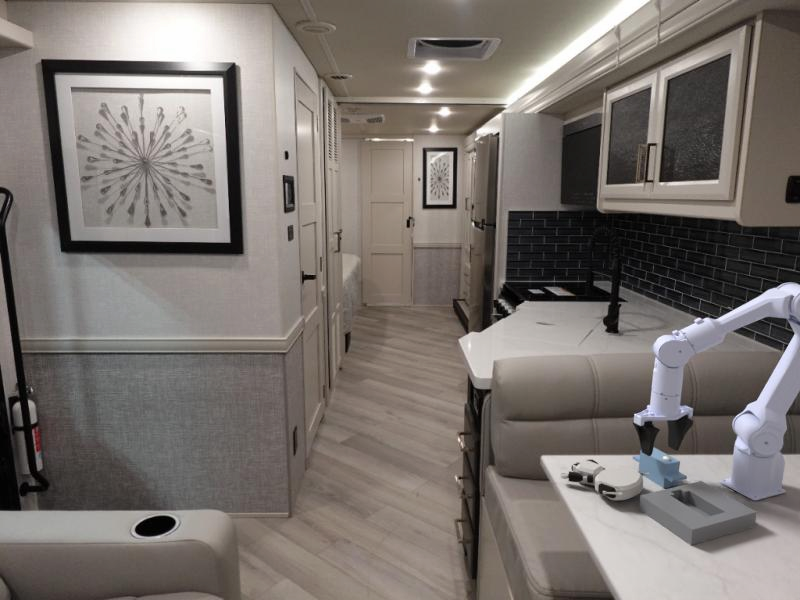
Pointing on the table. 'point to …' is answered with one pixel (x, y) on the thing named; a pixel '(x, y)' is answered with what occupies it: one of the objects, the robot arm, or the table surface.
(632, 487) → the robot toy
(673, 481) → the block
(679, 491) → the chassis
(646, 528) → the table surface
